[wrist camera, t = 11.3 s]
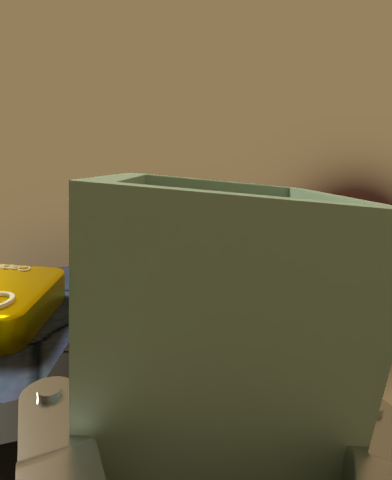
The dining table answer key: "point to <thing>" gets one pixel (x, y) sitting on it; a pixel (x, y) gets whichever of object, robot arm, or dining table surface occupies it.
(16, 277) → the element tile
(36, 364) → the dining table surface
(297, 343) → the hollow square tube
